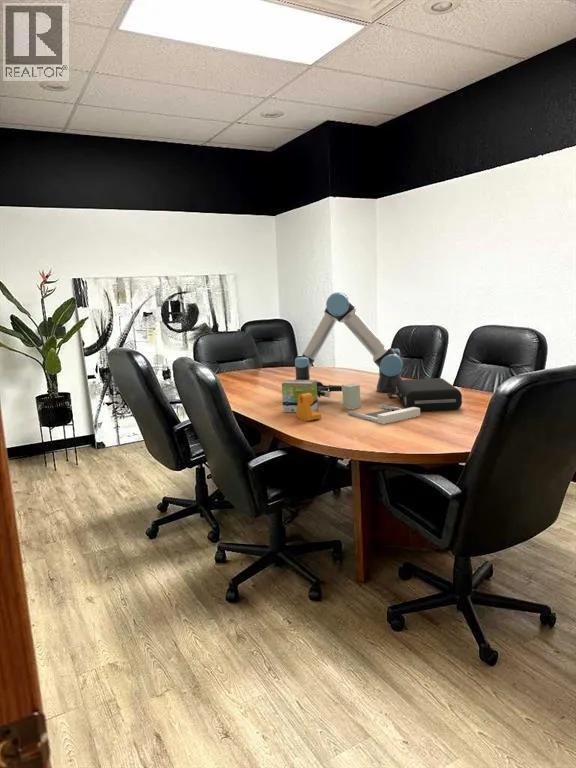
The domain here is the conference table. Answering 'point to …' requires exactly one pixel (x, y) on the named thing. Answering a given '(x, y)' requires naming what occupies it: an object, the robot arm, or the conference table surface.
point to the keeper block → (351, 396)
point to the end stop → (398, 415)
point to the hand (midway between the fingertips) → (340, 392)
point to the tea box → (298, 393)
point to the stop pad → (378, 413)
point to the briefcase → (428, 394)
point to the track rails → (371, 416)
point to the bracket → (306, 408)
